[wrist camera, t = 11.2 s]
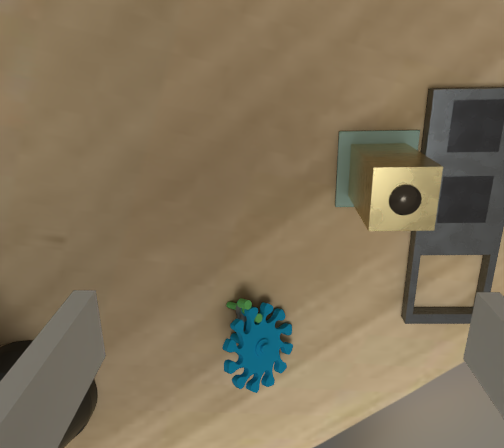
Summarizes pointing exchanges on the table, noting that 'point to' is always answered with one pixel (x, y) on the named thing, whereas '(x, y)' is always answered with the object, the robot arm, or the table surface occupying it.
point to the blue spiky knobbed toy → (256, 344)
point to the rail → (461, 191)
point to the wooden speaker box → (394, 187)
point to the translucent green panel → (364, 138)
